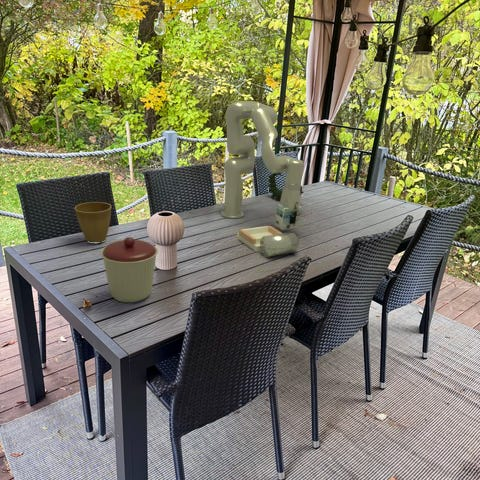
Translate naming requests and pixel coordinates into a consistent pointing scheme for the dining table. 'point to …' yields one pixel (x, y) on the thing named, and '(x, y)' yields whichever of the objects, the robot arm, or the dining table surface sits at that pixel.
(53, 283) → the dining table surface
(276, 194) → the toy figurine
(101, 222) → the plant pot
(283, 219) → the light bulb box
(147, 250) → the canister
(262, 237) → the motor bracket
